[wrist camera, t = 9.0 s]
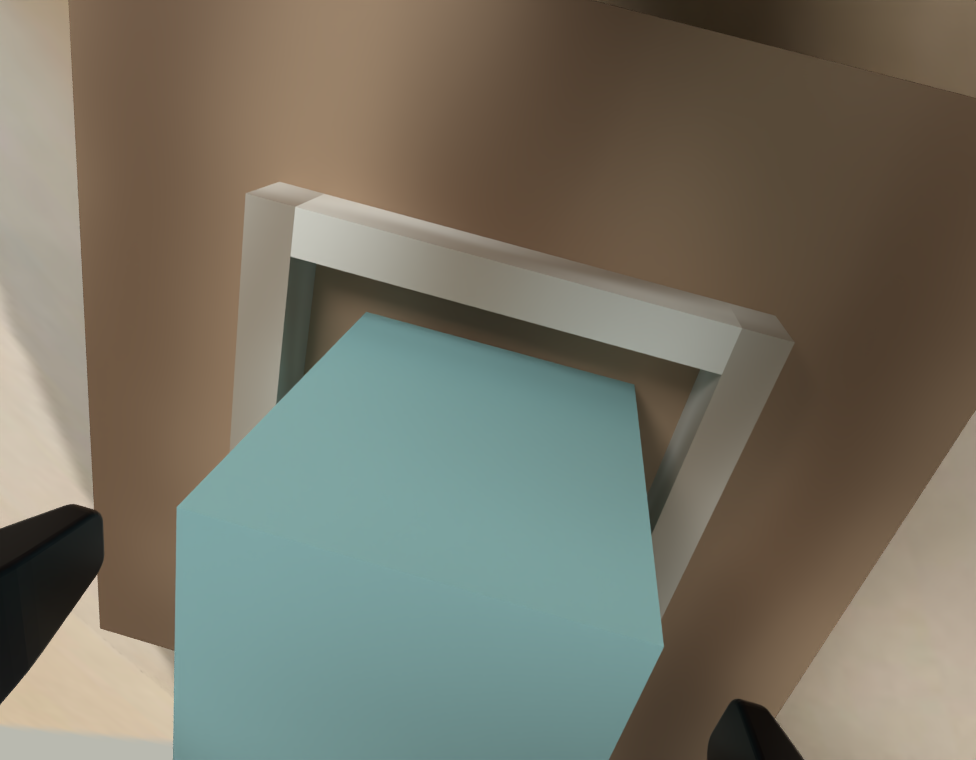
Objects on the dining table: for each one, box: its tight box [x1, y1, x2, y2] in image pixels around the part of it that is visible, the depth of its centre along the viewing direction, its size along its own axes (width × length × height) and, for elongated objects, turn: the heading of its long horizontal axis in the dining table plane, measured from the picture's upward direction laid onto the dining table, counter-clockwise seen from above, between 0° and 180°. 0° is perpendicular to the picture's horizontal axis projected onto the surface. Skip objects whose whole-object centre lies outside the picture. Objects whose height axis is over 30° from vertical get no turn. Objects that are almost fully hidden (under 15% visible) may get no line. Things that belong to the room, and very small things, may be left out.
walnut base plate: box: [69, 0, 976, 760], centre depth 14 cm, size 16×16×4 cm
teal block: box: [173, 312, 664, 760], centre depth 10 cm, size 5×5×6 cm
